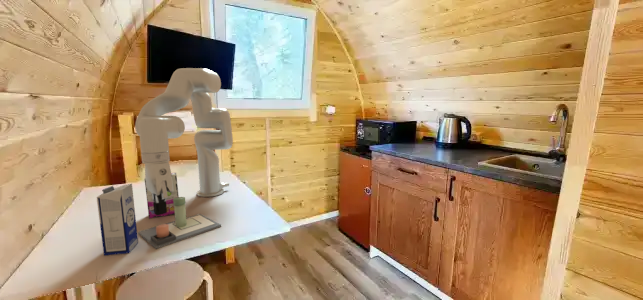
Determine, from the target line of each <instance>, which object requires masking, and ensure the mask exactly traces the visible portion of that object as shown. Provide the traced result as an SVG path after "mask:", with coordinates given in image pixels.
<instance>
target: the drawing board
mask: <svg viewBox="0 0 643 300" xmlns="http://www.w3.org/2000/svg"><path fill="white" fill-rule="evenodd" d="M186 221H187V225H186V226H183V227H176V223H175V220H174V221H170V222H167V223H166V224H168V225H169V235H168V236H166V237H162V238H159V237H157V234H156V227H157V226H158V225H157V226H154V227H150V228H147V229H143V230H140V231H137V234H139V235H140V236H141V238H143V239H144V240H145V241H146V242H148V243H149V244H150V246H152V247H153V248H154V249H156V250H157V249H160V248H162V247H163V248H164V247H165V246H169V245H172V244H174V243H179V242H180V241H183V240H186V239H190V238H191V237H192V238H193V237H195V236H198V235H200V234H204V233H206V232H209V231H214V230H215V229H218V228H221V227H222V224H221V223H218V221H215V220H214V219H211V218H209V217H208V216H205V215H203V214H201V213H197V214H194V215H191V216H188V217H187V216H186Z"/></svg>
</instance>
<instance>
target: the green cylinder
mask: <svg viewBox="0 0 643 300" xmlns="http://www.w3.org/2000/svg"><path fill="white" fill-rule="evenodd" d="M173 201H174V210H175V214H174V221H175V223H176V227H183V226H186V225H187V221H186V218H187V207H186V197H185V196H179V197H177V198H174V199H173Z"/></svg>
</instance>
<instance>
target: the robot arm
mask: <svg viewBox="0 0 643 300" xmlns="http://www.w3.org/2000/svg"><path fill="white" fill-rule="evenodd" d="M221 81H222V80H221V78H220V76H219V74H218V73H217V72H214V71H213V70H210V69H208V68H202V67H200V68H199V67H198V68H196V67H195V68H193V67H186V68H184V67H183V68H177V69H176V70H175V71H173V73H172V75H171V77H170V80H169V81H168V83H167V86H166V88H165V90H164V92H163V93H160V94H158V95H157V96H155V97H154V98H152V99H150V100H149V101H147V102H146V103H145V104H144V105H143V106H142V107H141V108H140V111H139V113H138V115H137V117H136V120H135V123H134V126H135V127H134V129H135V133H136V134H137V136H139V142H140V143H139V144H140V145H139V146H140V153H141V154H140V155H141V163H142V164H143V165H144V175H145V176H144V180H145V179H146V187H147V190H148V191H150V192H151V193H152V198H153V205H154V214H156V215H161V214H165V213H167V207H166V199H167V198H168V195H167V191H168V192H170V193H172V192H173V182H172V175H171V173H172V171H171V170H172V169H171V165H170V161H171V159H170V146H169V139H178V138H180V137H181V136H182V135H183V134H184V132H185V127H186V125H185V121H183V120H182V118H180V117H178V116H176V115H165V114H169V113H172V112H176V111H178V110H181V109H183V108H186V107H187V106H188V104H190V103H191V108H192V113H193V119H194V124H195V125H196V127H197V128H200V129H202V130H199V131H197V132H195V134H194V136H193V137H194V138H193V139H194V144H195V149H196V153H197V167H198V179H199V181H198V182H199V183H198V184H199V189H198V190H197V192H196V195H197V196H198V197H202V198H206V197H207V198H210V197H211V198H212V197H215V196H217V197H218V196H220V195H222V194H223V193H224V191H225V190H224V188H225V187H229V186H230V183H229V182H225V183H224V182H221V178H220V177H221V176H220V175H221V173H220V160H219V159H220V158H219V156H218V154H217V153H216V151H215V150H221V151H222V150H229V149H231V148H232V147H233V144H234V143H233V141H234V140H233V139H234V137H233V131H232V130H233V128H232V120H231V116H230V113H229V111H228V109H226V108H224V107H222V108H221V107H213V103H212V98H211V95H210V94H214V93H218V92H219V91H220V90H221V88H222V87H221V86H222V82H221ZM189 102H190V103H189ZM146 187H145V188H146Z"/></svg>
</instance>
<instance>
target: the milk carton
mask: <svg viewBox="0 0 643 300" xmlns="http://www.w3.org/2000/svg"><path fill="white" fill-rule="evenodd" d="M134 200H135V199H134V190H133V183H129V184H123V185H120V186H118V187H117V186H116V187H114V186H113V185H111V186H109V187H106V188H103V189H102V193H101V194H99V195H98V196H96V202H97V212H98V220H99V226H100V234H101V243H102V250H103V251H102V252H103V256H110V255H111V256H113V255H122V254H124V255H125V254H130V253H131V252H132V250H133V249H134V248H136V246H137V245H138V244H139V240H138V239H139V238H138V229H137V219H136V209H135V201H134Z"/></svg>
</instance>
